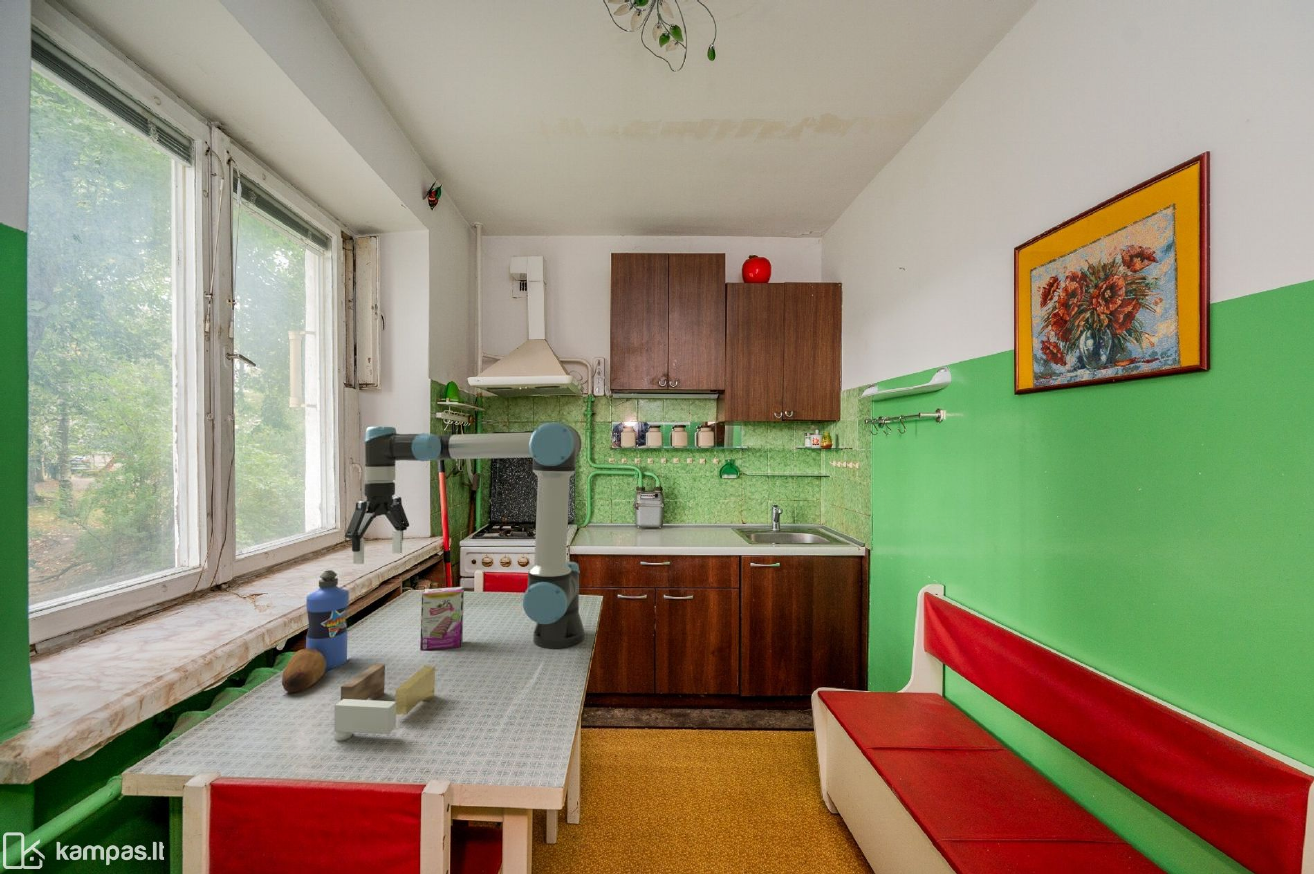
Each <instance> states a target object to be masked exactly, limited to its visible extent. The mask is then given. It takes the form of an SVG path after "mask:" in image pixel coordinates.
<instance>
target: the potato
mask: <svg viewBox="0 0 1314 874" xmlns="http://www.w3.org/2000/svg"><path fill="white" fill-rule="evenodd" d="M325 668H326V660H325V659H324V657H323V655H322V653H320V652H319V651H317V650H316V649H308V648H306V647H304V648H302V649H299V650H297V651H295V652H294V654H293V655H292V656H291V657H290V659H289V661H288V662H287V663H286V666H285V668H284V670H283V673H282V678H281V679H282V680H281V685H282V687H283V689H284V691H285V692H286V693H288V694H292V693H298V692H302V691H305V690H306V689H308V688H310V687H311V686H314V684H315V683H317V682H318V681H319V680H320V679H321V677H322V676H323V675H325V674H324V672H325Z"/></svg>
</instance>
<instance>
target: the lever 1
mask: <svg viewBox="0 0 1314 874" xmlns="http://www.w3.org/2000/svg"><path fill="white" fill-rule="evenodd" d="M385 675H386V664H384V663H382V664H381V663H375V664H373V665H371V666H370V667H368V668H367V669H365V670H363V671H362V672H361V673H359V674H358V675H356V676H355V677H353V678H352V679H350V680H348V681H347V682H345V683H344V684H343V685H341V687H340V701H341V700H343V699H354V700H369V699H378V698H381V697H383V696H384V695H385V685H386V684H385V681H386V680H385V679H386V678H385Z"/></svg>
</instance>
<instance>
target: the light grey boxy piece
mask: <svg viewBox="0 0 1314 874" xmlns="http://www.w3.org/2000/svg"><path fill="white" fill-rule="evenodd" d="M333 719H334V721H333V722H334V726H333V727H334V729H333V731H334V732H333V733H334V737H333V739H334V741H336V742H341V741H346V740H348V739H349V738H351V737H352V736H353V733H357V734H358V733H359V734H375V735H376V734H377V735H389V734H390V733H391V732H393V731H394V730H395V729H396V728H397V714H396V702H395V701H392V700H391V701H390V700H389V701H387V700H371V699H367V700H354V699H343V700H341V699H340V701H338V702H337V703H335V704H334V718H333Z"/></svg>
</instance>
